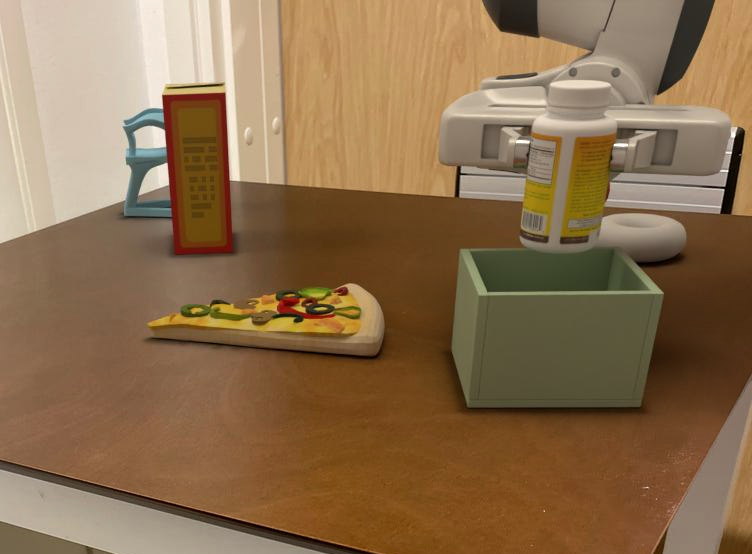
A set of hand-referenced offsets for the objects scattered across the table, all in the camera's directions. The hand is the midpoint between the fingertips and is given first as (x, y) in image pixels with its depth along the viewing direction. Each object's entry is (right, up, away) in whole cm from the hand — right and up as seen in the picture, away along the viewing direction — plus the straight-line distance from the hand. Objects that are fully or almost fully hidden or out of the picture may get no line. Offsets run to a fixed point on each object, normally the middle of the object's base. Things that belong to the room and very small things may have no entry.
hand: (568, 156), depth 66 cm
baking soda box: (-28, +13, +46) cm, 56 cm away
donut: (+19, +8, +38) cm, 43 cm away
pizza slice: (-21, -6, +20) cm, 29 cm away
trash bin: (+1, -12, +10) cm, 16 cm away
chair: (-35, +23, +60) cm, 73 cm away
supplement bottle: (+1, -4, +4) cm, 6 cm away
